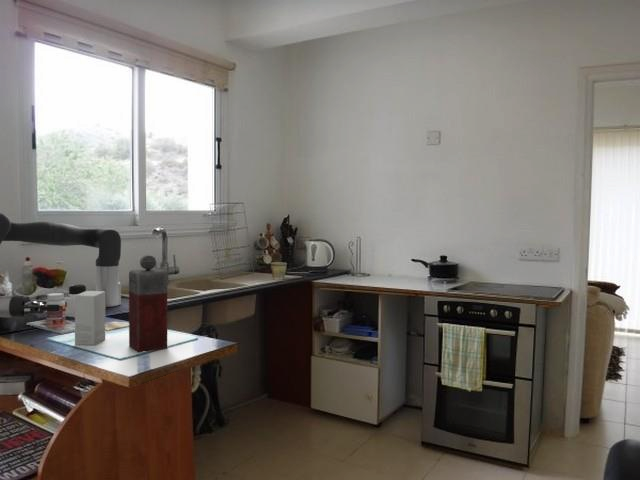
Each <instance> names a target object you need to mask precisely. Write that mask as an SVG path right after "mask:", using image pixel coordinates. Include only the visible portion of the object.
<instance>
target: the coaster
mask: <svg viewBox="0 0 640 480" xmlns="http://www.w3.org/2000/svg"><path fill="white" fill-rule="evenodd" d="M124 328H129V323H126V322H125V323H124V322H121V321H116V320H115V321H109V322H105V332H108V331H109V332H110V331H114V330H118V329H124Z"/></svg>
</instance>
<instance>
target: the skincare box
mask: <svg viewBox="0 0 640 480" xmlns="http://www.w3.org/2000/svg"><path fill="white" fill-rule="evenodd" d="M74 322H75V332H74V345H75V346H96V345H97V344H99V343H101V342H102V341H104V340H105V339H106V331H105V323H106V307H105V291H96V290H86V291H85V292H83V293H80V294H77V295H75V318H74Z"/></svg>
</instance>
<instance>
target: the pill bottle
mask: <svg viewBox="0 0 640 480" xmlns="http://www.w3.org/2000/svg"><path fill="white" fill-rule="evenodd" d="M64 295H65V294H64V293H62V292H54V293H53V292H52V293H48V294H47V295H46V296H47V298H46V300H49V301H48V302H47V303H46V304H47V305H60V310H59V311H48V312H45V317H46V318H45V320H46V325H45V326H49V327H55V326H60V325H66V320H67V318H66V317H67V316H66V308H65V301H64V298H65V297H64Z"/></svg>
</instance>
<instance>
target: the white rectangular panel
mask: <svg viewBox="0 0 640 480" xmlns="http://www.w3.org/2000/svg"><path fill="white" fill-rule="evenodd" d="M28 325H30V326H29V327H32V326H33V328H37V329H40V330H45V331H48V332H53V333H57V334H60V335H61V334H62V335H63V334H69V333H73V332H74V333H75V321H72V320H67V319H66V324H65V325H60V326H55V327H49V326H46V319H42V320H35V321H31V322H26V326H28Z"/></svg>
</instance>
